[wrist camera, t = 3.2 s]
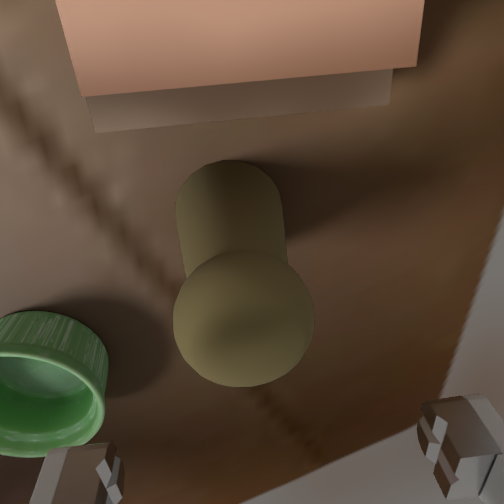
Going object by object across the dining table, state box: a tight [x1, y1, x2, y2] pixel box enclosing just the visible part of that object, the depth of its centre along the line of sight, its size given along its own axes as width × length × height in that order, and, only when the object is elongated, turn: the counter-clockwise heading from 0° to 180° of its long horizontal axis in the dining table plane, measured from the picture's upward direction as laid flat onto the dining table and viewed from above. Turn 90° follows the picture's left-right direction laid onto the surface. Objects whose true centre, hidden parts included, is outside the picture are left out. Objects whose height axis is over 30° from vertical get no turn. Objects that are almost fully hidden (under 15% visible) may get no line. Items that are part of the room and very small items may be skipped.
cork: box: [173, 160, 315, 387], centre depth 18 cm, size 6×6×11 cm
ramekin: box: [0, 311, 108, 458], centre depth 25 cm, size 9×9×4 cm
